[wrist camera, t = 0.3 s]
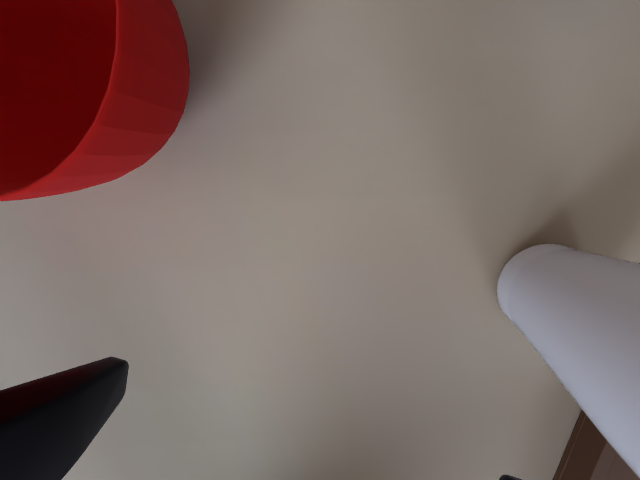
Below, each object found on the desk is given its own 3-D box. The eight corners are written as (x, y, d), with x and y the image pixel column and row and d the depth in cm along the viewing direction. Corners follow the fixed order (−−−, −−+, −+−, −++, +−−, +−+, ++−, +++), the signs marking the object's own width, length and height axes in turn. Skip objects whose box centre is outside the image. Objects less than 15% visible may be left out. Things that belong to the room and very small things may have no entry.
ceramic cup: (-57, 48, 23) (-370, -49, 13) (178, -77, 20) (6, -317, 10) (35, 239, 24) (-181, 282, 15) (263, 147, 22) (185, 124, 12)
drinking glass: (485, 228, 21) (771, 345, 7) (610, 230, 21) (1241, 367, 6) (475, 336, 22) (700, 642, 8) (593, 342, 22) (1084, 690, 7)
